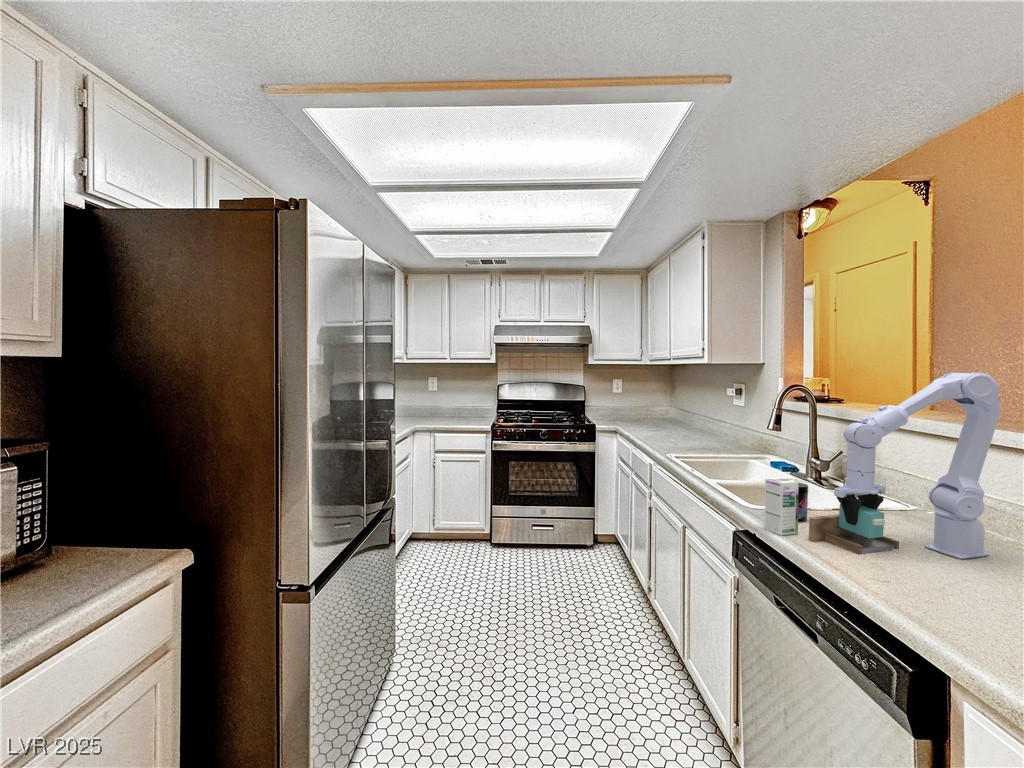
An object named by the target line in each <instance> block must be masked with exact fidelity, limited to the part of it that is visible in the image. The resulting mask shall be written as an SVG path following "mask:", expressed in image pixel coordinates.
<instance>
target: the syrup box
mask: <svg viewBox="0 0 1024 768" xmlns="http://www.w3.org/2000/svg"><path fill="white" fill-rule="evenodd" d="M798 482H799V481H798V480H795V479H793V478H788V477H770V478H769V477H767V478H764V484H765V485H764V494H765V495H764V529H765V530H766V531H769V532H771V533H774V535H775V534H776V535H778V536H781V537H782V536H788V535H797V534H798V533H799V522H798Z"/></svg>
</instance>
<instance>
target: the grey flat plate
mask: <svg viewBox="0 0 1024 768" xmlns="http://www.w3.org/2000/svg"><path fill="white" fill-rule="evenodd" d="M835 536H837V537H840V538H843V539H845V540H848V541H851V542H853V543H856V544H859V545H861V546H862V553H864V554H871V553H878V552H879V553H880V552H886V551H887V550H888V551H894V550H893V549H895V545H894V544H891V543H889V542H886V541H883V540H880V539H877V538H867V537H864V536H862V535H859V534H856V533H852V534H843V535H835Z"/></svg>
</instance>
